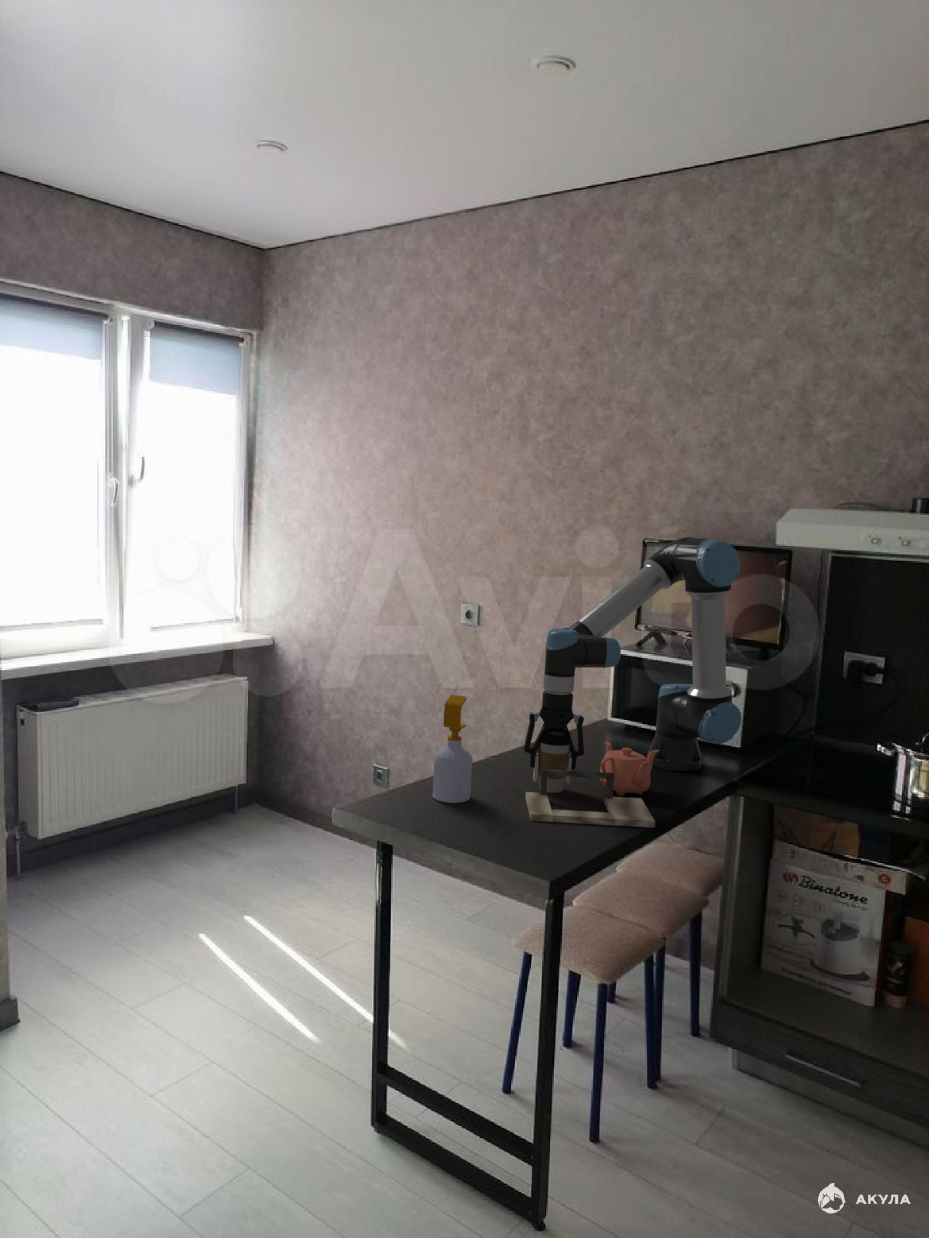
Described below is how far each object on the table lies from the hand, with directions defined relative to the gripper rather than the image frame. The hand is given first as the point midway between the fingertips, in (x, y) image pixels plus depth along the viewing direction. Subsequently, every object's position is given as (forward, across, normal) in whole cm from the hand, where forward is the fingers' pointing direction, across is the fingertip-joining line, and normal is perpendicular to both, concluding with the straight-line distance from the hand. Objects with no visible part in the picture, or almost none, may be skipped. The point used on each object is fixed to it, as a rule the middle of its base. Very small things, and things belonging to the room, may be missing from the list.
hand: (551, 780), depth 228 cm
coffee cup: (+2, 0, 0) cm, 2 cm away
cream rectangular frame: (+2, -7, +16) cm, 18 cm away
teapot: (+2, -20, -3) cm, 20 cm away
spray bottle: (+2, +25, +11) cm, 27 cm away
